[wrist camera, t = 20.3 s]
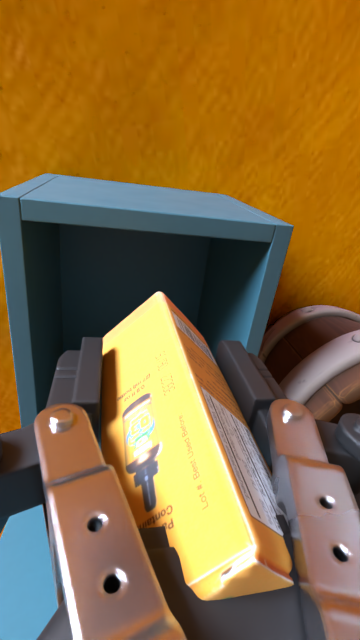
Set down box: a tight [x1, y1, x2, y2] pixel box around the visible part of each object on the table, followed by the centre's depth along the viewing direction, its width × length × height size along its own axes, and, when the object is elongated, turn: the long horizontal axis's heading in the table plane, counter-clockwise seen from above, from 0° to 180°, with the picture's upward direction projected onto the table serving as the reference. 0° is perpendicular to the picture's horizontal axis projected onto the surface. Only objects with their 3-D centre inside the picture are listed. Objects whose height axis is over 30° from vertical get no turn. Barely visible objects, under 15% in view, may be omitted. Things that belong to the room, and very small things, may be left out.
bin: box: [0, 173, 294, 451], centre depth 22 cm, size 16×13×11 cm
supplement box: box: [101, 292, 294, 601], centre depth 10 cm, size 3×3×10 cm
